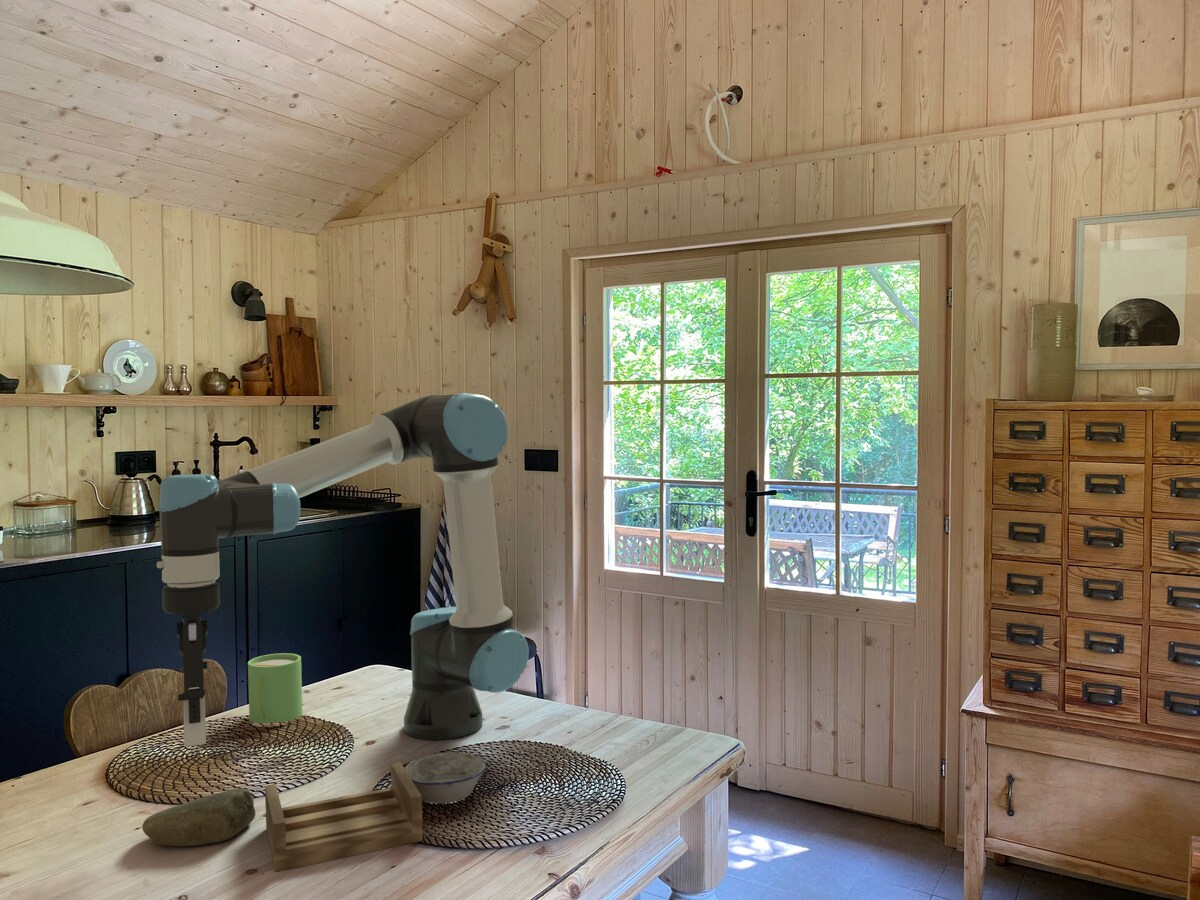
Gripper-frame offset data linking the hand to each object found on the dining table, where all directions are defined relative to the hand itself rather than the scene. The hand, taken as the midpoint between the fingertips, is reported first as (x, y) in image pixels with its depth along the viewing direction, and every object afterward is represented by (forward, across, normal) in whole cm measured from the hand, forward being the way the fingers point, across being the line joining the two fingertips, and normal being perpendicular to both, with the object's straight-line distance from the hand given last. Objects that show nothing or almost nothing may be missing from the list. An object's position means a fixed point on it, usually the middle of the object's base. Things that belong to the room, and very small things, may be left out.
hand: (194, 729), depth 130 cm
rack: (+16, +8, +19) cm, 26 cm away
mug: (+16, -49, +14) cm, 53 cm away
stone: (+16, -1, 0) cm, 17 cm away
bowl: (+16, +1, +36) cm, 40 cm away
